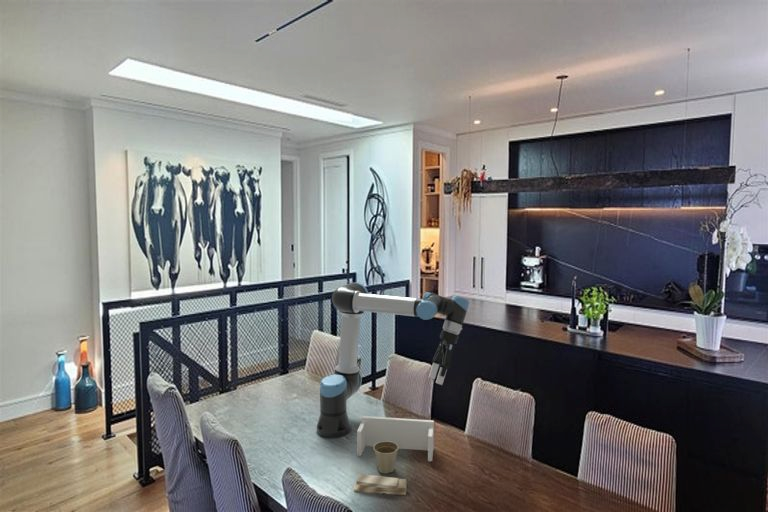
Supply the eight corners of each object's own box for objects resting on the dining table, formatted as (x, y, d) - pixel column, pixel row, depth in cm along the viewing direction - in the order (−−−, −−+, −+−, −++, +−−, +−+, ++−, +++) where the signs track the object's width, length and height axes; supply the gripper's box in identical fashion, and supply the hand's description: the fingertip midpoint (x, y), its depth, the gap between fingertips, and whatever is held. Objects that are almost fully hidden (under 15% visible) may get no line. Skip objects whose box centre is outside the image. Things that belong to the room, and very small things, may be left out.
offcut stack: (353, 493, 154) (353, 483, 154) (357, 482, 160) (357, 472, 160) (405, 497, 152) (405, 486, 151) (407, 485, 158) (407, 475, 158)
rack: (356, 455, 178) (356, 426, 177) (361, 443, 187) (361, 415, 187) (432, 461, 173) (432, 431, 172) (433, 449, 183) (433, 420, 182)
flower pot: (372, 463, 172) (372, 441, 172) (397, 462, 173) (397, 440, 172) (374, 476, 163) (374, 454, 162) (400, 475, 164) (400, 452, 163)
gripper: (467, 337, 178) (451, 389, 175) (451, 333, 202) (436, 378, 199) (450, 331, 177) (433, 383, 174) (435, 327, 202) (420, 373, 199)
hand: (435, 381), depth 187 cm, fingers open, 13 cm apart
